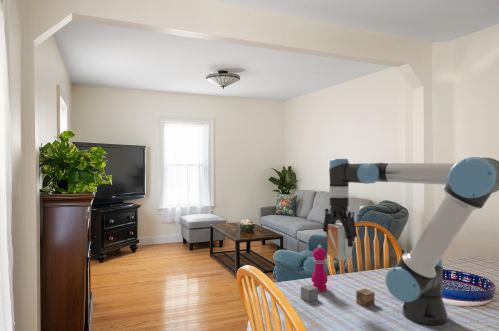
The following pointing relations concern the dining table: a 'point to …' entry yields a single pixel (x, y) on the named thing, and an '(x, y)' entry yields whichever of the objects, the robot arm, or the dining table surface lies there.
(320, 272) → the pepper mill
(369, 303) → the walnut block
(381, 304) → the dining table surface
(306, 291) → the charcoal block
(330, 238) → the small box
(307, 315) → the dining table surface
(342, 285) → the dining table surface
